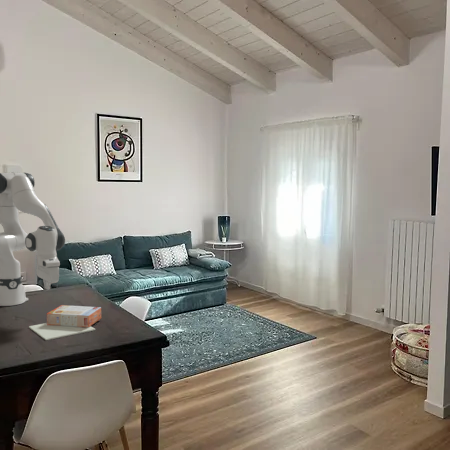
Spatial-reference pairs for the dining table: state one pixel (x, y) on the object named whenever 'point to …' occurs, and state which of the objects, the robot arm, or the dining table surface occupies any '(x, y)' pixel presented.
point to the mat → (58, 330)
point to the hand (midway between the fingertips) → (47, 288)
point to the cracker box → (74, 316)
